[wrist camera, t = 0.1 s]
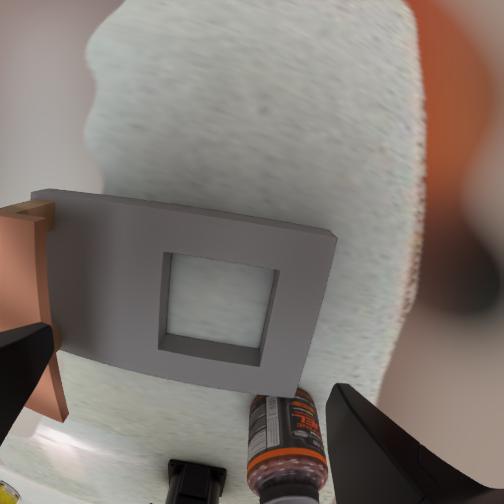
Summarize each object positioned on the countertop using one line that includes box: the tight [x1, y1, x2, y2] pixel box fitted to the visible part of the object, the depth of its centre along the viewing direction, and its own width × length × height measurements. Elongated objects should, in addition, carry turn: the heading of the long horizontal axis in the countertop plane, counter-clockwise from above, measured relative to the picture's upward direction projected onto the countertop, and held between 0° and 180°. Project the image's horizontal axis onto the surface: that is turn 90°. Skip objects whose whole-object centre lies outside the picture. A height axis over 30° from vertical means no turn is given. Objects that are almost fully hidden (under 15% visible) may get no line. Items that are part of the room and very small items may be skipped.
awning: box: [0, 199, 69, 423], centre depth 18 cm, size 13×6×8 cm, turn 171°
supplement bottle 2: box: [247, 389, 328, 504], centre depth 21 cm, size 6×6×11 cm
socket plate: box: [31, 189, 337, 398], centre depth 23 cm, size 13×22×2 cm, turn 81°
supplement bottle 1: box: [0, 482, 19, 504], centre depth 33 cm, size 6×6×10 cm
